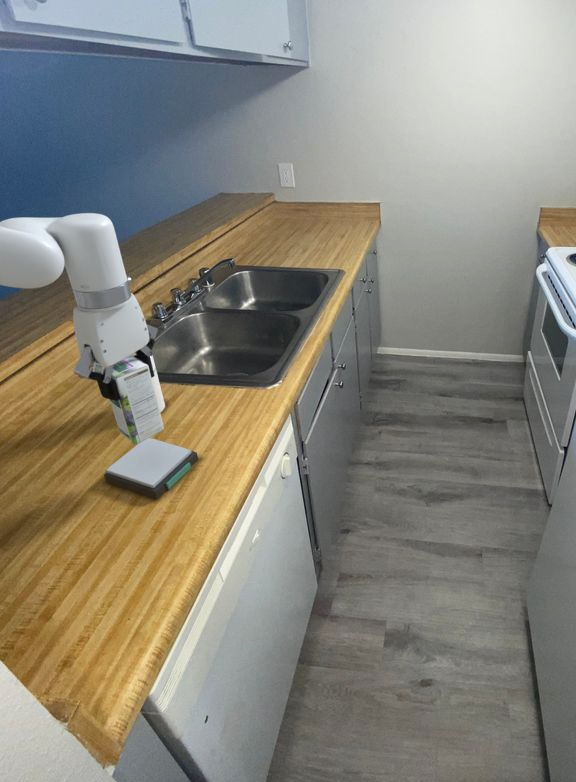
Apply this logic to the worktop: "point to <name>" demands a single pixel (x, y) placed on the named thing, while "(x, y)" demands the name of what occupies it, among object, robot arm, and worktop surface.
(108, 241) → the robot arm
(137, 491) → the scale
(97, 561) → the worktop surface
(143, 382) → the syrup box
